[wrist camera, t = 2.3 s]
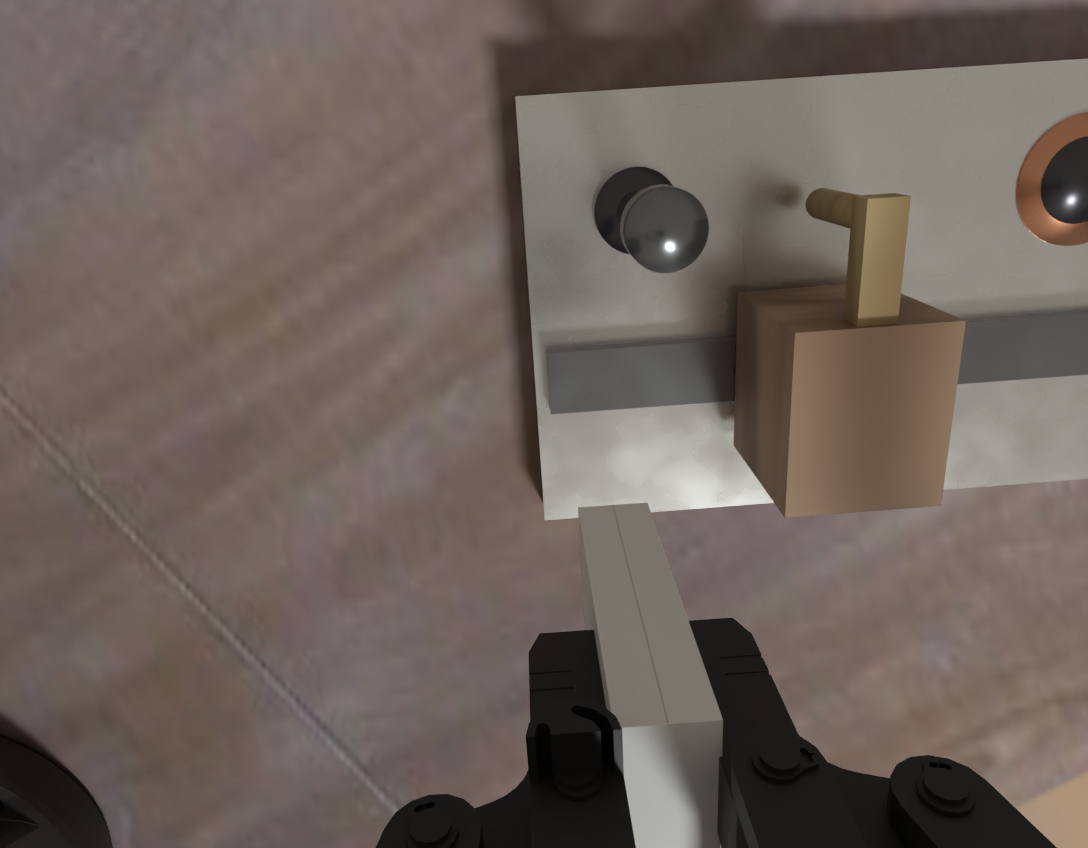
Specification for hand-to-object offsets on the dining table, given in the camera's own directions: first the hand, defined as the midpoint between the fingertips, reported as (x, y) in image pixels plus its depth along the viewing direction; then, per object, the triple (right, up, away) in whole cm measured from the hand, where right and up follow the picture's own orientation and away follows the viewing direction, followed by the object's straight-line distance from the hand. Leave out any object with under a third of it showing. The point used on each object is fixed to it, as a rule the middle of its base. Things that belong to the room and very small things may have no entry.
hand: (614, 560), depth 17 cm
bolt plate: (+11, +8, +14) cm, 19 cm away
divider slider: (+8, +7, +12) cm, 16 cm away
